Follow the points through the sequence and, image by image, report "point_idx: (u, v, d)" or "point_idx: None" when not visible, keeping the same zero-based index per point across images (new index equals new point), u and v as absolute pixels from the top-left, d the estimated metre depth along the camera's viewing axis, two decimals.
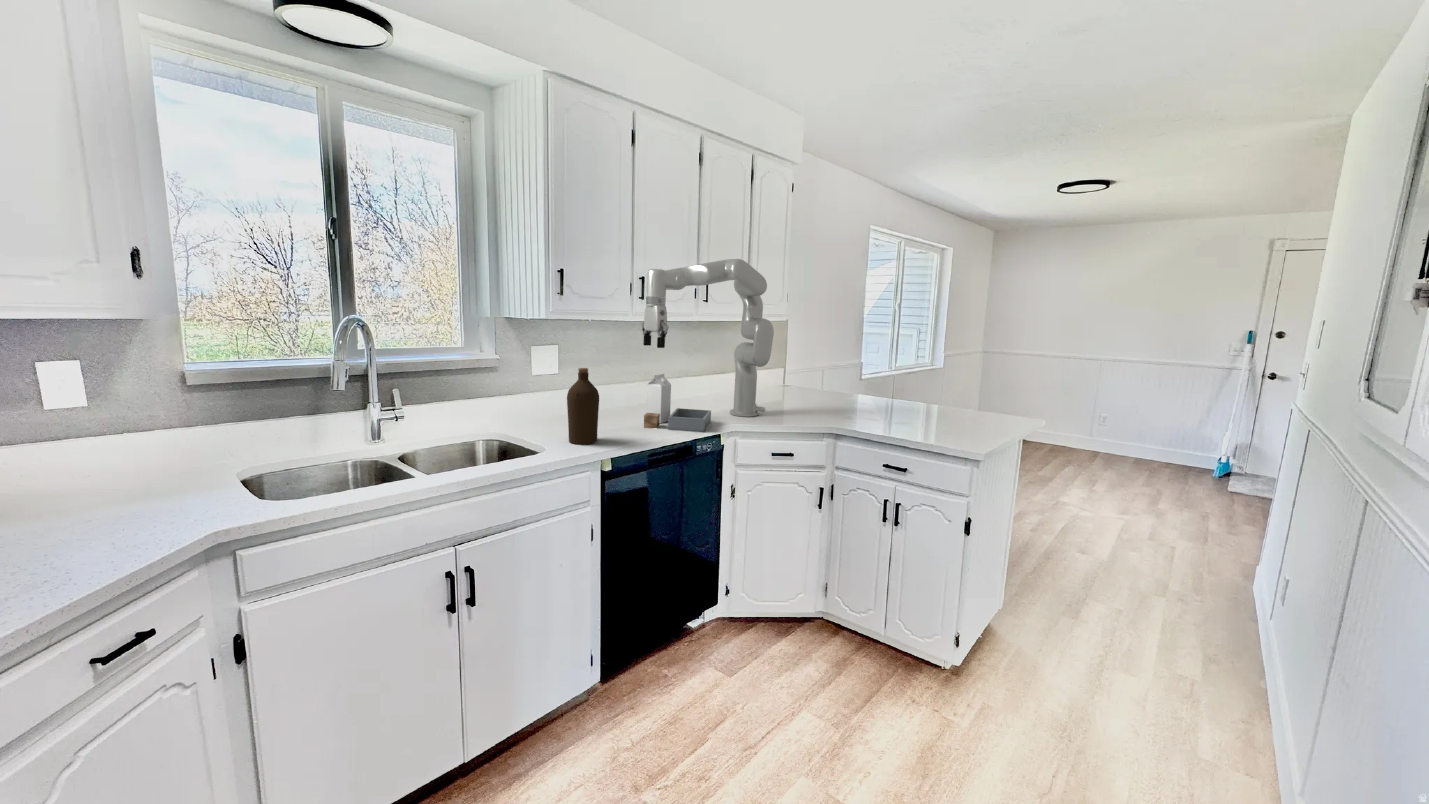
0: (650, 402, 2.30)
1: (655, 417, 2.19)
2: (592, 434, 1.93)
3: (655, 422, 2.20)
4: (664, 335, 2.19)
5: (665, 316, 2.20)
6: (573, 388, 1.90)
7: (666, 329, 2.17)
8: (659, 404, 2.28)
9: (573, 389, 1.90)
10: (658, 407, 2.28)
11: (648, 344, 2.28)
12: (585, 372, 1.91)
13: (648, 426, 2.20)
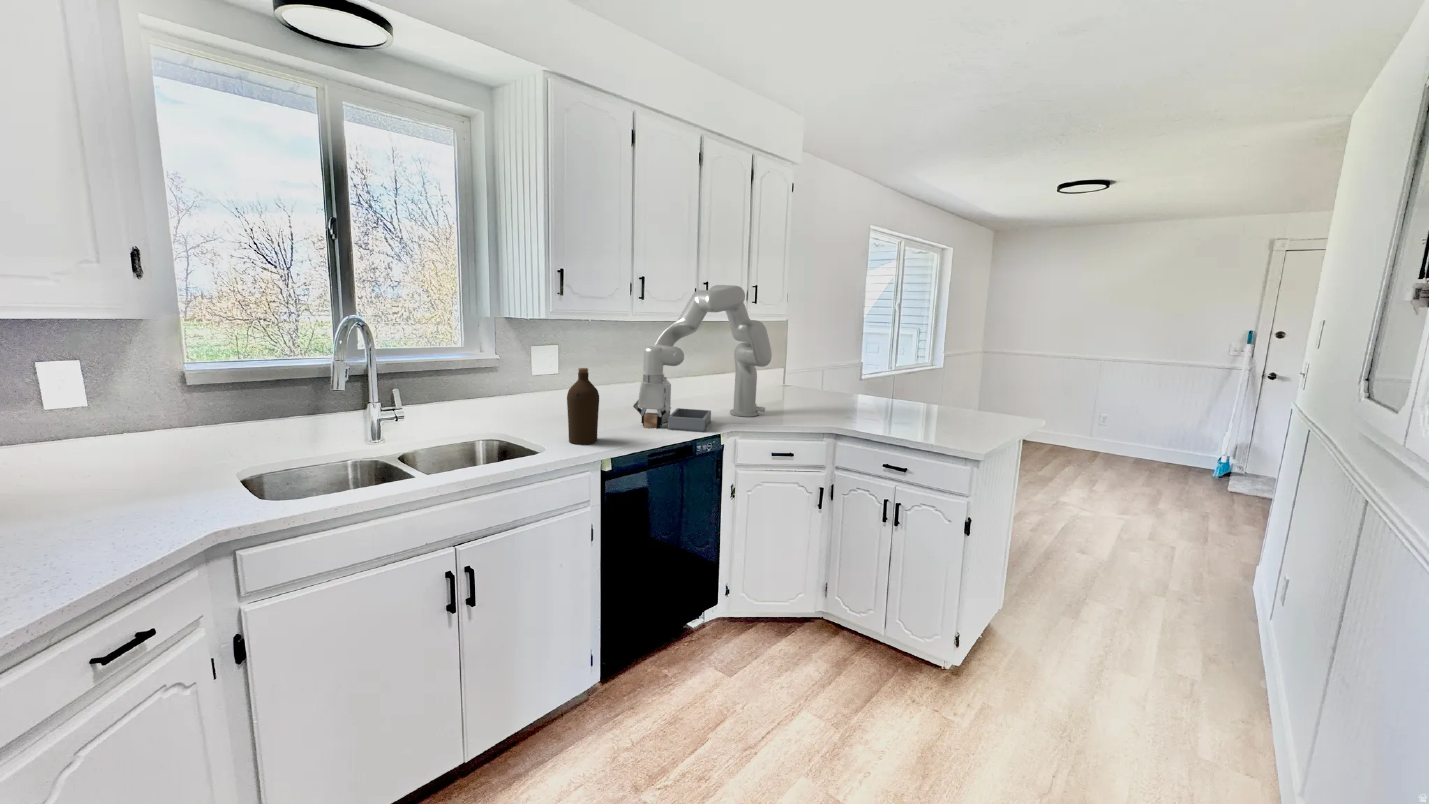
0: None
1: (655, 417, 2.19)
2: (592, 434, 1.93)
3: (655, 422, 2.20)
4: (663, 414, 2.22)
5: (665, 392, 2.21)
6: (573, 388, 1.90)
7: (668, 410, 2.21)
8: None
9: (573, 389, 1.90)
10: None
11: None
12: (585, 372, 1.91)
13: (648, 426, 2.20)
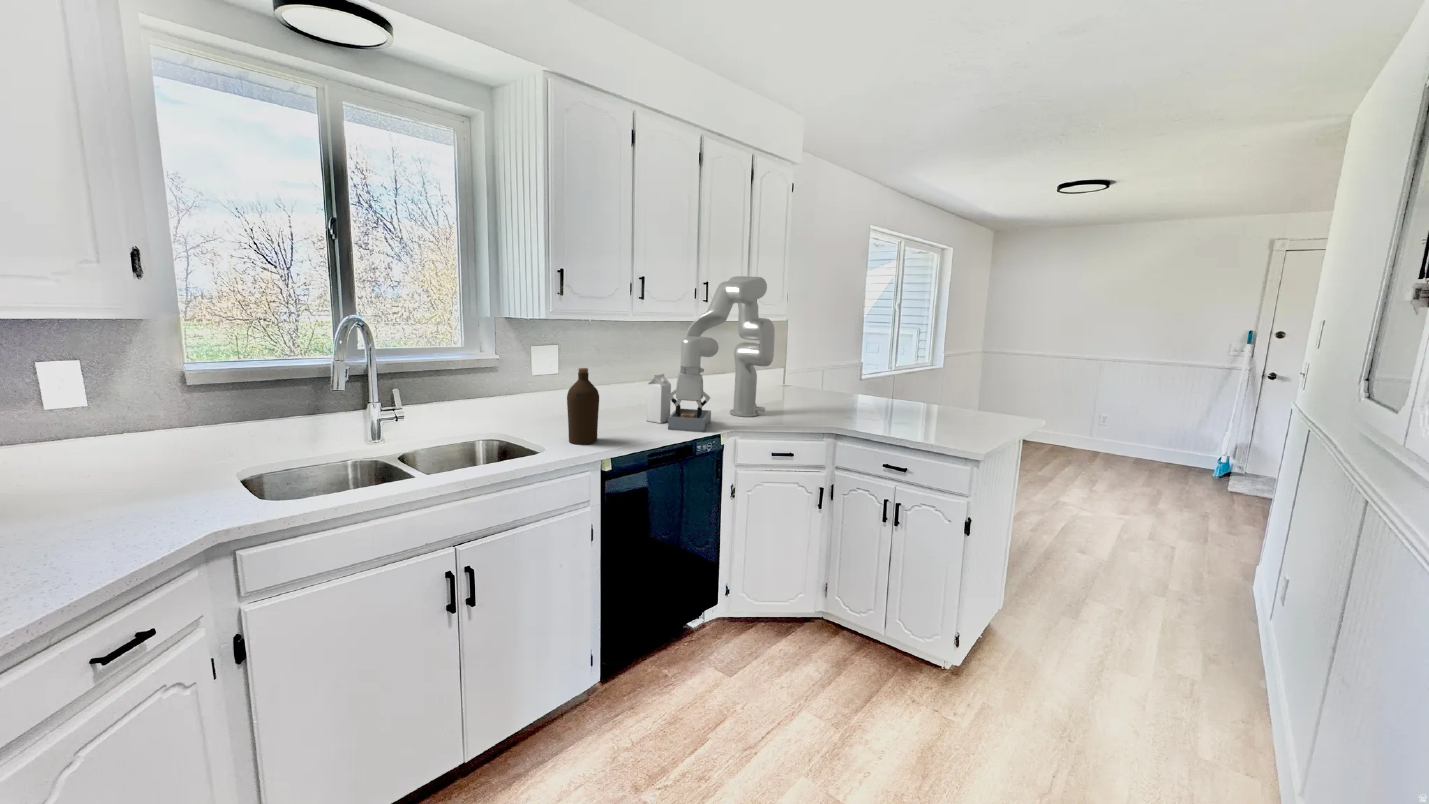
0: (650, 402, 2.30)
1: (692, 416, 2.19)
2: (592, 434, 1.93)
3: None
4: (703, 405, 2.21)
5: None
6: (573, 388, 1.90)
7: (708, 400, 2.20)
8: (659, 404, 2.28)
9: (573, 389, 1.90)
10: (658, 407, 2.28)
11: (679, 414, 2.23)
12: (585, 372, 1.91)
13: None
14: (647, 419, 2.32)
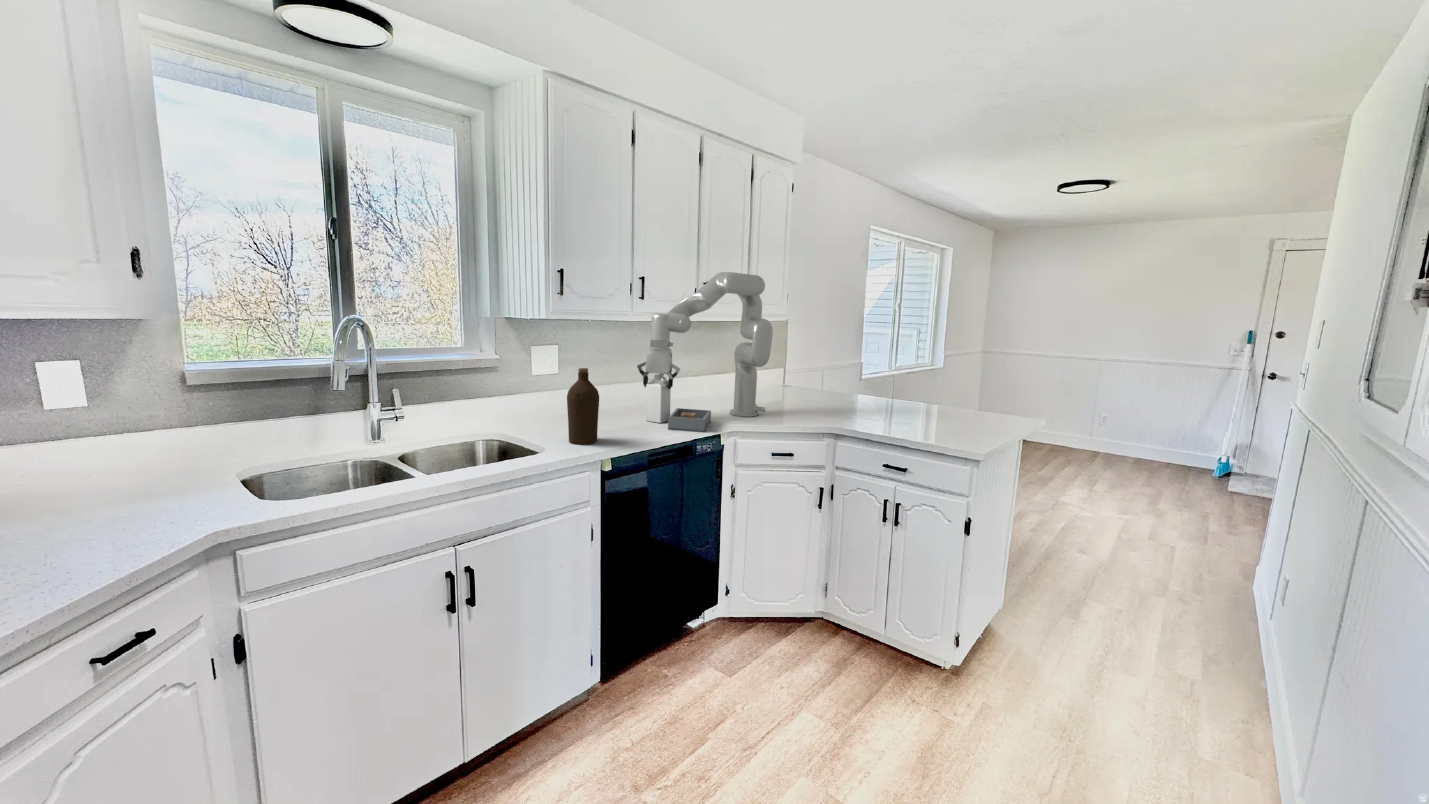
0: (650, 402, 2.30)
1: (692, 416, 2.19)
2: (592, 434, 1.93)
3: None
4: (674, 376, 2.30)
5: None
6: (573, 388, 1.90)
7: None
8: (659, 404, 2.28)
9: (573, 389, 1.90)
10: (658, 407, 2.28)
11: None
12: (585, 372, 1.91)
13: None
14: (647, 419, 2.32)
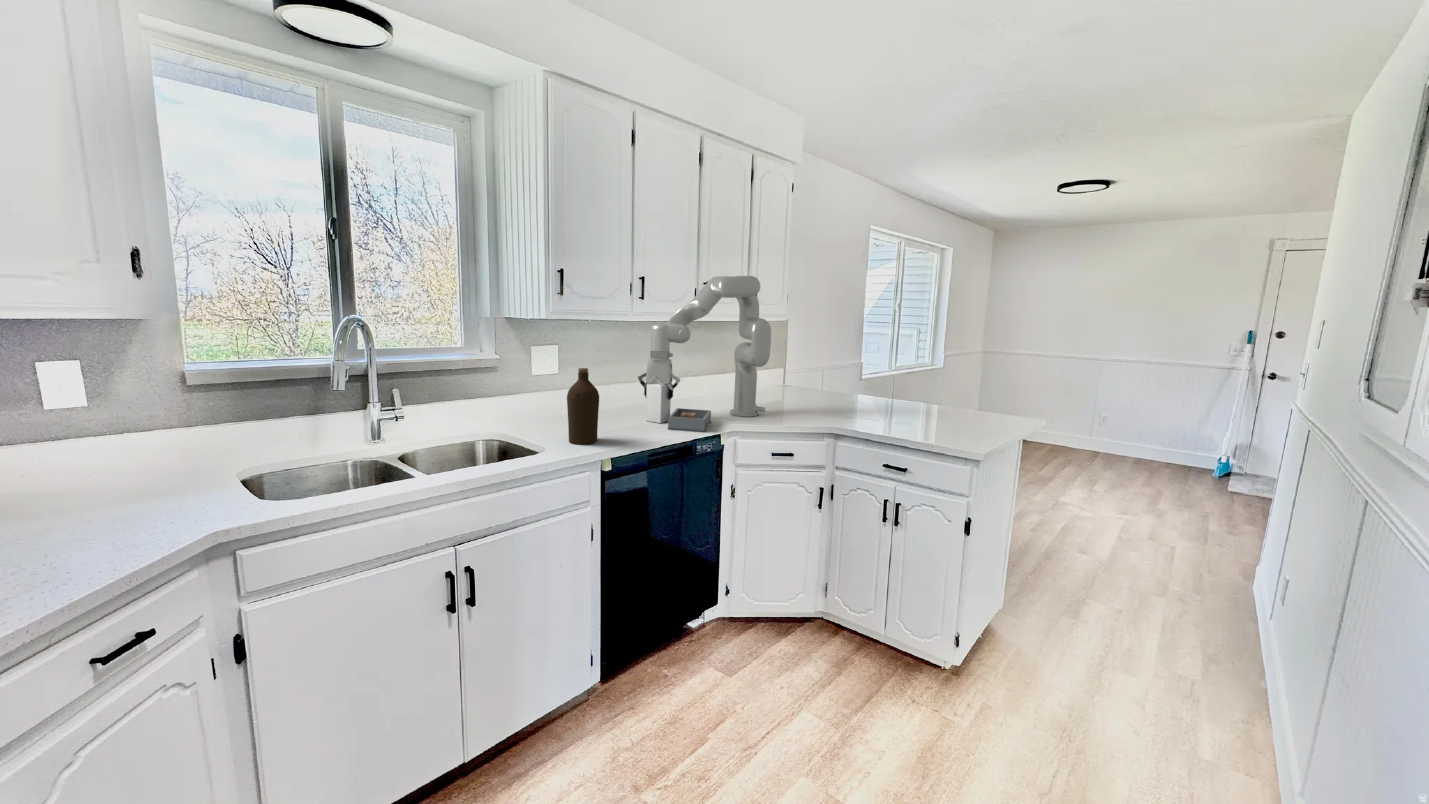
0: (650, 402, 2.30)
1: (692, 416, 2.19)
2: (592, 434, 1.93)
3: None
4: (674, 387, 2.31)
5: None
6: (573, 388, 1.90)
7: (679, 381, 2.30)
8: (659, 404, 2.28)
9: (573, 389, 1.90)
10: (658, 407, 2.28)
11: None
12: (585, 372, 1.91)
13: None
14: (647, 419, 2.32)
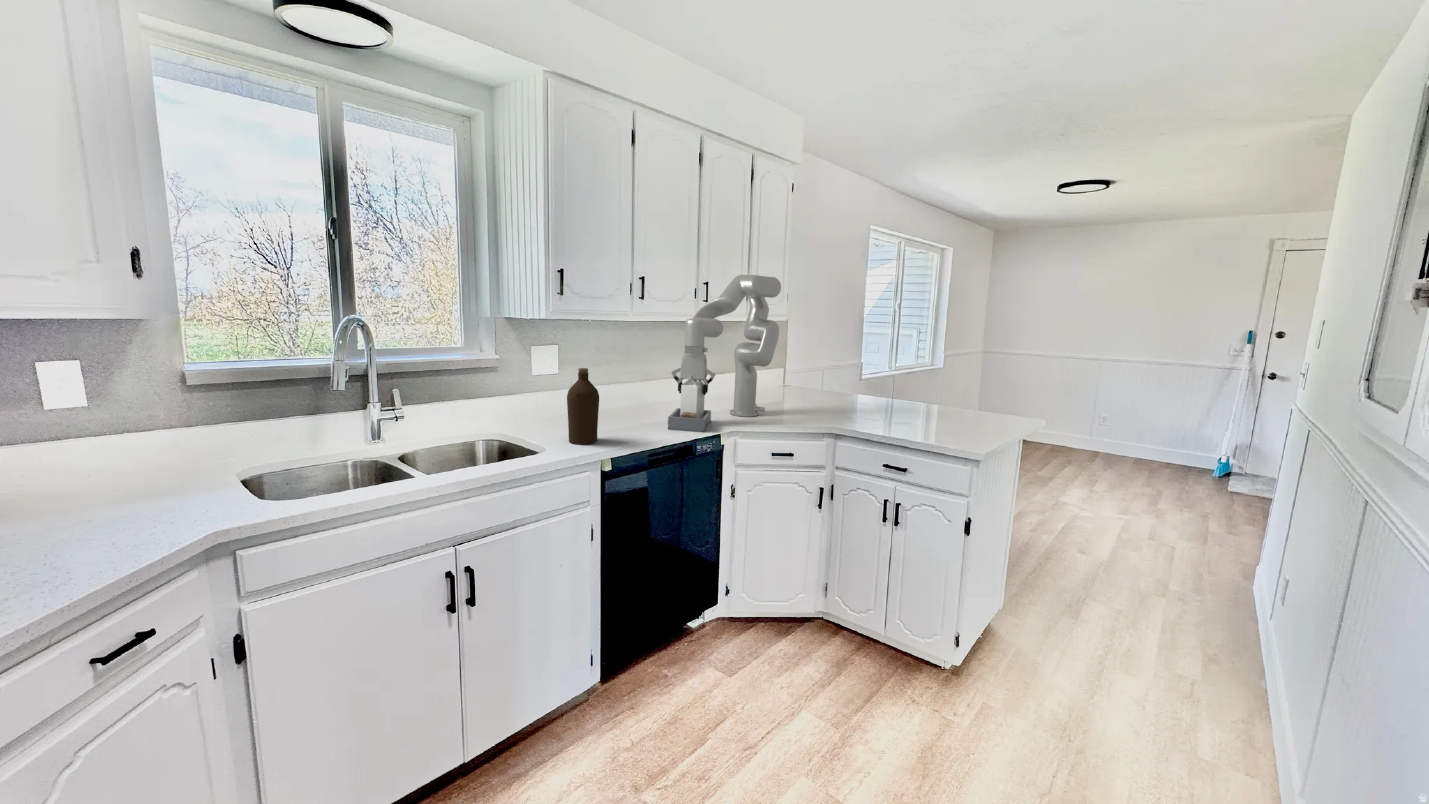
0: (685, 403, 2.26)
1: (692, 416, 2.19)
2: (592, 434, 1.93)
3: None
4: (709, 382, 2.27)
5: (706, 364, 2.27)
6: (573, 388, 1.90)
7: (714, 376, 2.26)
8: (695, 405, 2.25)
9: (573, 389, 1.90)
10: (694, 408, 2.25)
11: None
12: (585, 372, 1.91)
13: None
14: None
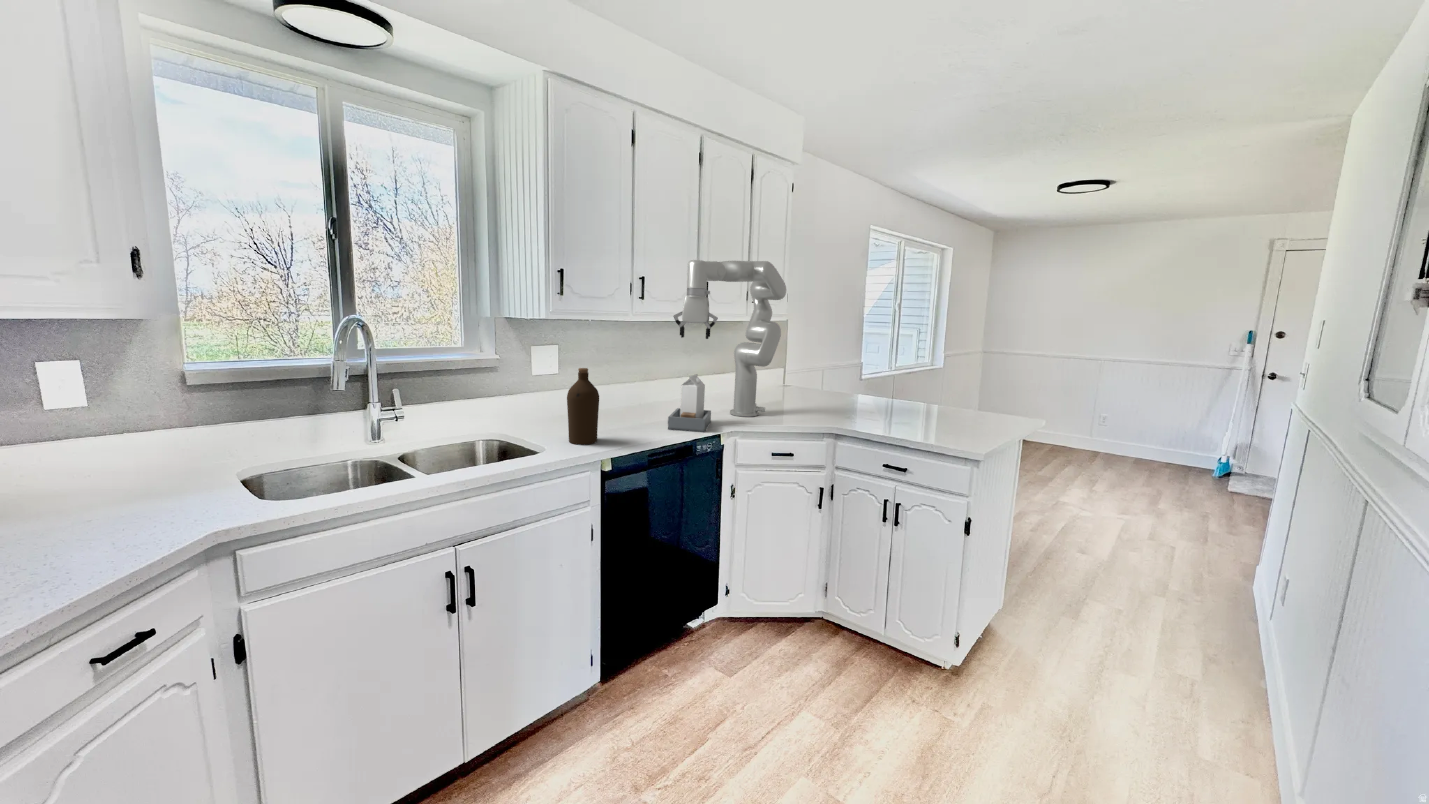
0: (685, 403, 2.26)
1: (692, 416, 2.19)
2: (592, 434, 1.93)
3: None
4: None
5: None
6: (573, 388, 1.90)
7: (716, 320, 2.22)
8: (695, 405, 2.25)
9: (573, 389, 1.90)
10: (694, 408, 2.25)
11: (683, 336, 2.25)
12: (585, 372, 1.91)
13: None
14: None
